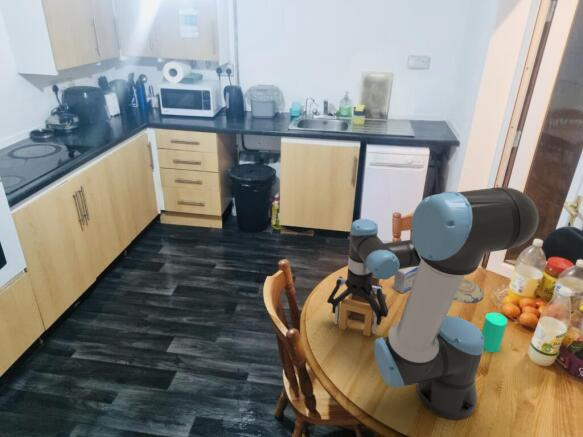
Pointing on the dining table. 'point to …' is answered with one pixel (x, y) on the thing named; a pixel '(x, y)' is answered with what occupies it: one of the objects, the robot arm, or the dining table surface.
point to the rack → (361, 299)
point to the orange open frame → (359, 308)
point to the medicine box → (404, 279)
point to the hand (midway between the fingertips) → (355, 325)
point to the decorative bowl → (469, 292)
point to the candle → (493, 331)
